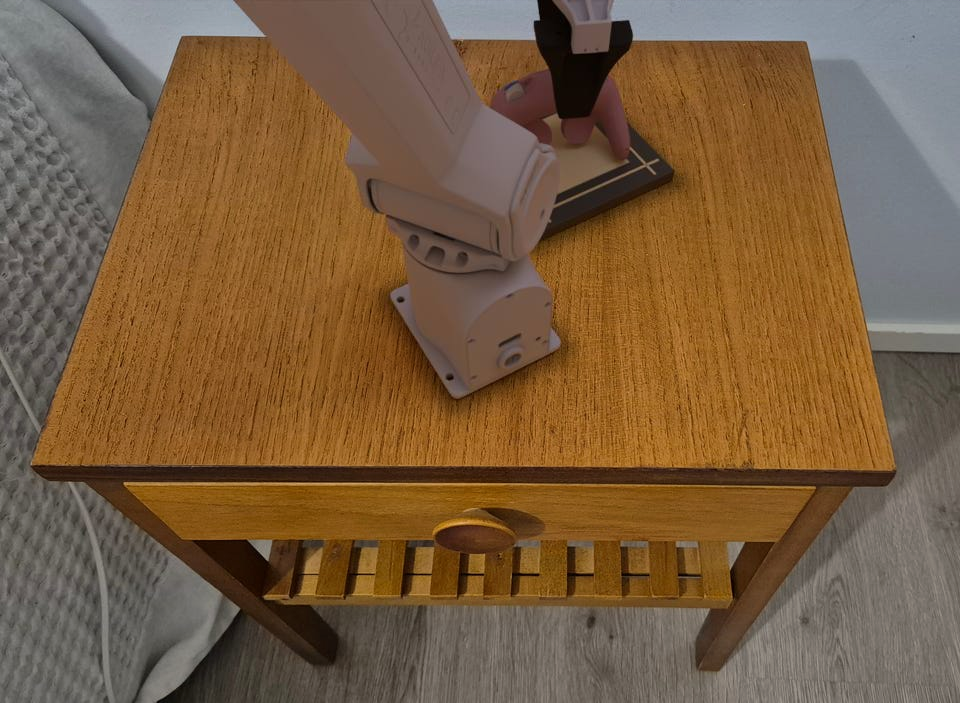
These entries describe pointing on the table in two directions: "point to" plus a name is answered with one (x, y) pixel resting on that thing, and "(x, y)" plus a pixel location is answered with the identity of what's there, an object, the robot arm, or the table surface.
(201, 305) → the table surface
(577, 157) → the board
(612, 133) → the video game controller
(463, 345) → the robot arm
